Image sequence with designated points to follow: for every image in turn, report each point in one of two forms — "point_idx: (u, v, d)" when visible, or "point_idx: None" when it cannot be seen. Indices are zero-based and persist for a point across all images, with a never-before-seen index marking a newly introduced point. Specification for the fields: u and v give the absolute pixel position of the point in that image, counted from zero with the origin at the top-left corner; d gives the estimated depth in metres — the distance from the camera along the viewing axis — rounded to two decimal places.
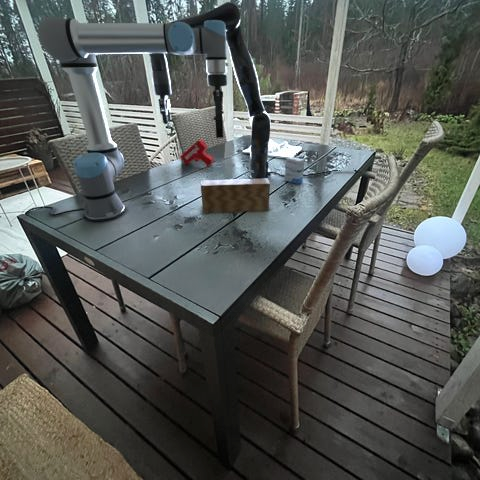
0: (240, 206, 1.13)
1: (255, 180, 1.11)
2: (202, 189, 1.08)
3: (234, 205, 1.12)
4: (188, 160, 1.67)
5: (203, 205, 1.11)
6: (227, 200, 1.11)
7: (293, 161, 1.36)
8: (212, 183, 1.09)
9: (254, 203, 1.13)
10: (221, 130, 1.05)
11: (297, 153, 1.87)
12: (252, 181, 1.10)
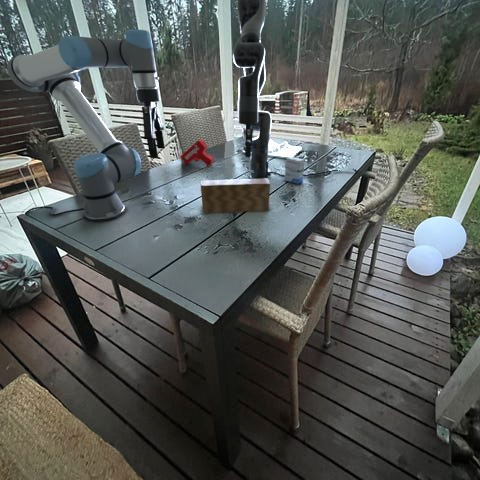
0: (240, 206, 1.13)
1: (255, 180, 1.11)
2: (202, 189, 1.08)
3: (234, 205, 1.12)
4: (188, 160, 1.67)
5: (203, 205, 1.11)
6: (227, 200, 1.11)
7: (293, 161, 1.36)
8: (212, 183, 1.09)
9: (254, 203, 1.13)
10: (155, 150, 0.94)
11: (297, 153, 1.87)
12: (252, 181, 1.10)
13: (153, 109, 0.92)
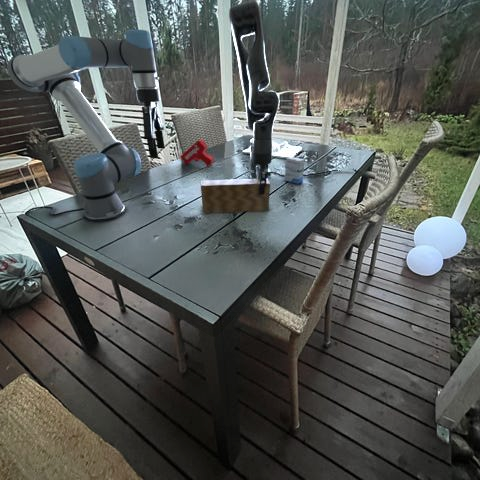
0: (240, 206, 1.13)
1: (255, 180, 1.11)
2: (202, 189, 1.08)
3: (234, 205, 1.12)
4: (188, 160, 1.67)
5: (203, 205, 1.11)
6: (227, 200, 1.11)
7: (293, 161, 1.36)
8: (212, 183, 1.09)
9: (254, 203, 1.13)
10: (155, 150, 0.94)
11: (297, 153, 1.87)
12: (252, 181, 1.10)
13: (153, 109, 0.92)
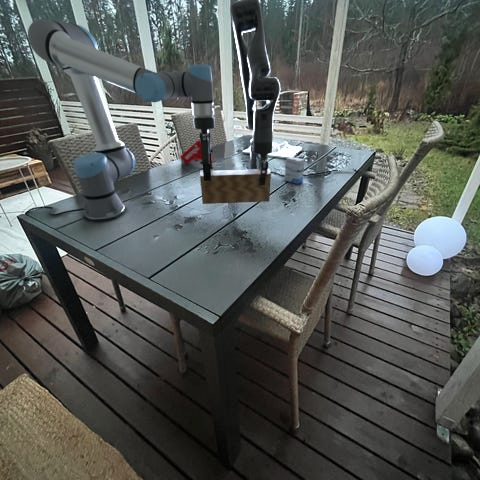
0: (240, 197, 1.11)
1: (255, 170, 1.09)
2: (201, 179, 1.06)
3: (234, 196, 1.10)
4: (188, 160, 1.67)
5: (203, 196, 1.09)
6: (227, 191, 1.09)
7: (293, 161, 1.36)
8: (212, 173, 1.07)
9: (255, 194, 1.10)
10: (209, 173, 1.00)
11: (297, 153, 1.87)
12: (252, 171, 1.08)
13: (208, 135, 0.98)
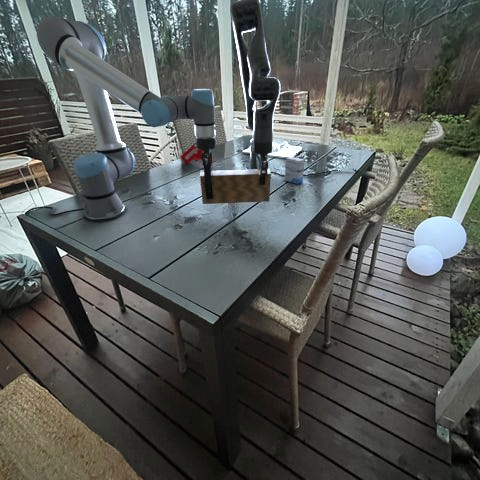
0: (240, 197, 1.11)
1: (255, 170, 1.09)
2: (201, 179, 1.06)
3: (235, 196, 1.10)
4: (188, 160, 1.67)
5: (203, 196, 1.09)
6: (227, 191, 1.09)
7: (293, 161, 1.36)
8: (212, 173, 1.07)
9: (255, 194, 1.10)
10: (211, 192, 1.08)
11: (297, 153, 1.87)
12: (252, 171, 1.08)
13: (210, 155, 1.02)
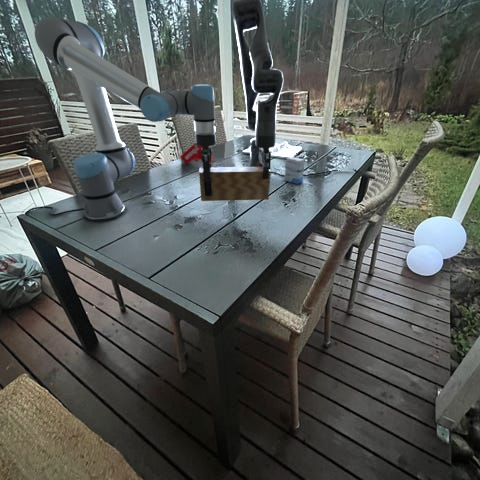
0: (239, 195, 1.10)
1: (255, 168, 1.08)
2: (200, 176, 1.05)
3: (234, 193, 1.10)
4: (188, 160, 1.67)
5: (201, 193, 1.09)
6: (226, 188, 1.08)
7: (293, 161, 1.36)
8: (211, 170, 1.06)
9: (254, 192, 1.10)
10: (210, 189, 1.07)
11: (297, 153, 1.87)
12: (251, 169, 1.07)
13: (209, 151, 1.01)
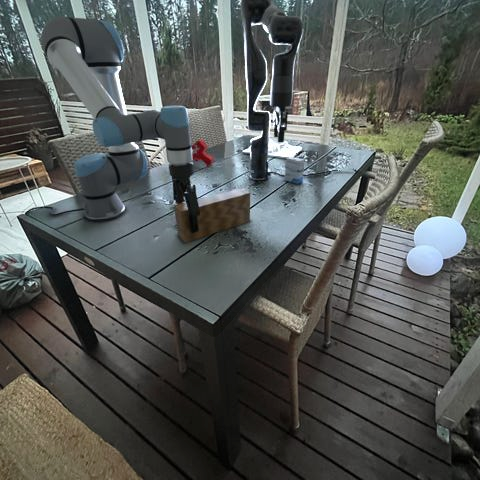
0: (223, 224, 1.00)
1: (232, 192, 1.01)
2: (182, 215, 0.89)
3: (218, 224, 0.99)
4: None
5: (184, 234, 0.93)
6: (210, 221, 0.96)
7: (293, 161, 1.36)
8: None
9: (236, 217, 1.02)
10: (196, 224, 0.91)
11: (297, 153, 1.87)
12: (230, 194, 0.99)
13: None
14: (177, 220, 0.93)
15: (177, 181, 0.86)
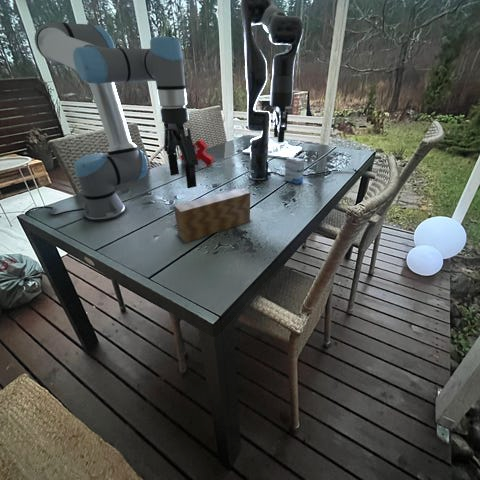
0: (223, 224, 1.00)
1: (232, 192, 1.01)
2: (182, 215, 0.89)
3: (218, 224, 0.99)
4: None
5: (184, 234, 0.93)
6: (210, 221, 0.96)
7: (293, 161, 1.36)
8: (191, 205, 0.91)
9: (236, 217, 1.02)
10: (193, 178, 0.80)
11: (297, 153, 1.87)
12: (230, 194, 0.99)
13: None
14: (177, 220, 0.93)
15: (170, 130, 0.78)
